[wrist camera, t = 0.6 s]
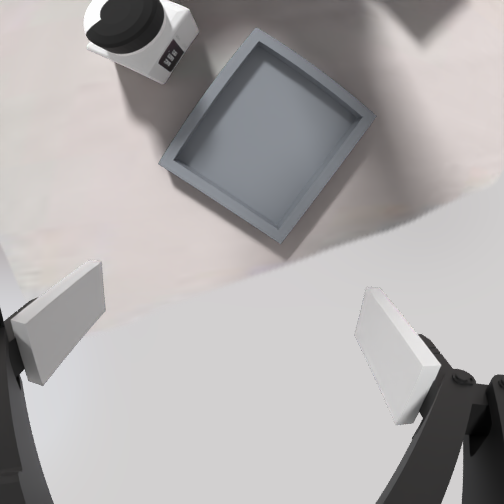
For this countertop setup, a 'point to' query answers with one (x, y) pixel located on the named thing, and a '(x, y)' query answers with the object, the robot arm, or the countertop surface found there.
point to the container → (140, 34)
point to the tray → (267, 135)
